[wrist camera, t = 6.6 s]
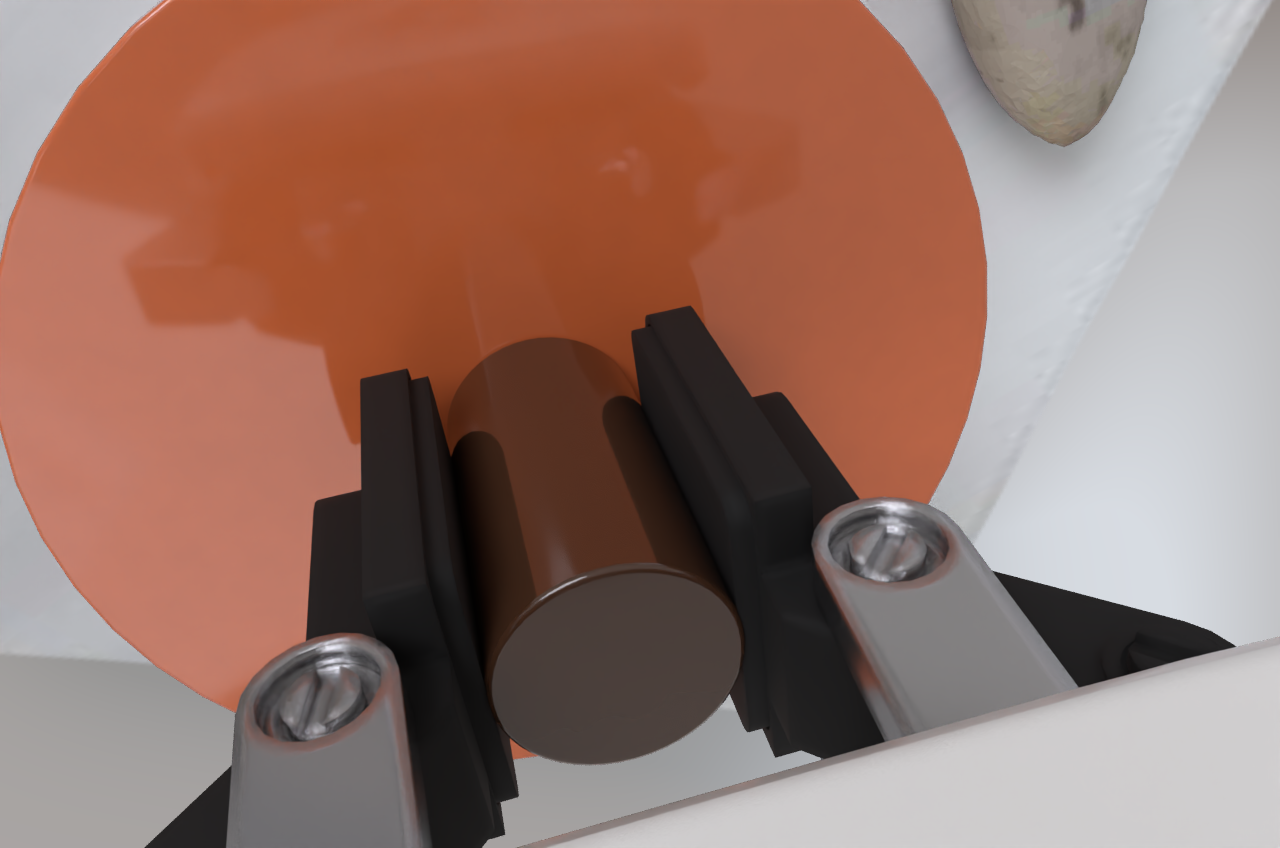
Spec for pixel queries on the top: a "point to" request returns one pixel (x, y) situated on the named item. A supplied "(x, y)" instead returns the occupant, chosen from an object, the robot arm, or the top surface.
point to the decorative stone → (1052, 58)
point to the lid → (474, 314)
